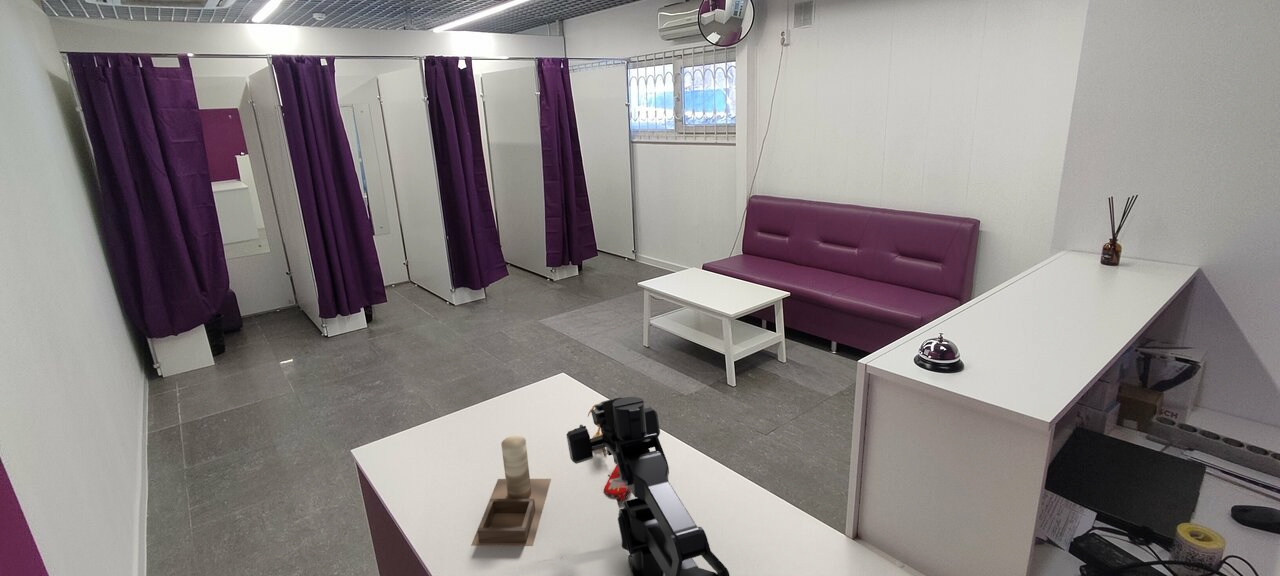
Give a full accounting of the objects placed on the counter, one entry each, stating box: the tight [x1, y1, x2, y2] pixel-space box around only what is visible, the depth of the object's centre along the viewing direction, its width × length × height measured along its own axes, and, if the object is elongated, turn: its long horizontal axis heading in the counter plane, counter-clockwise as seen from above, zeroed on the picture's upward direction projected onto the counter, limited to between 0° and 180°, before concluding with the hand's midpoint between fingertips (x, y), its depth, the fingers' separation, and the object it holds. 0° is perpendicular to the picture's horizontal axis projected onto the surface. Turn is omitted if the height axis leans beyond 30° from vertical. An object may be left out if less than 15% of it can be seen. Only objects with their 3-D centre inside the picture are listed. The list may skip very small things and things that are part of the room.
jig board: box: [470, 478, 552, 547], centre depth 121 cm, size 20×12×4 cm, turn 178°
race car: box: [603, 464, 631, 502], centre depth 130 cm, size 13×5×4 cm, turn 161°
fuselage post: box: [501, 435, 531, 499], centre depth 124 cm, size 5×5×13 cm
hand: (601, 420), depth 124 cm, fingers open, 9 cm apart
